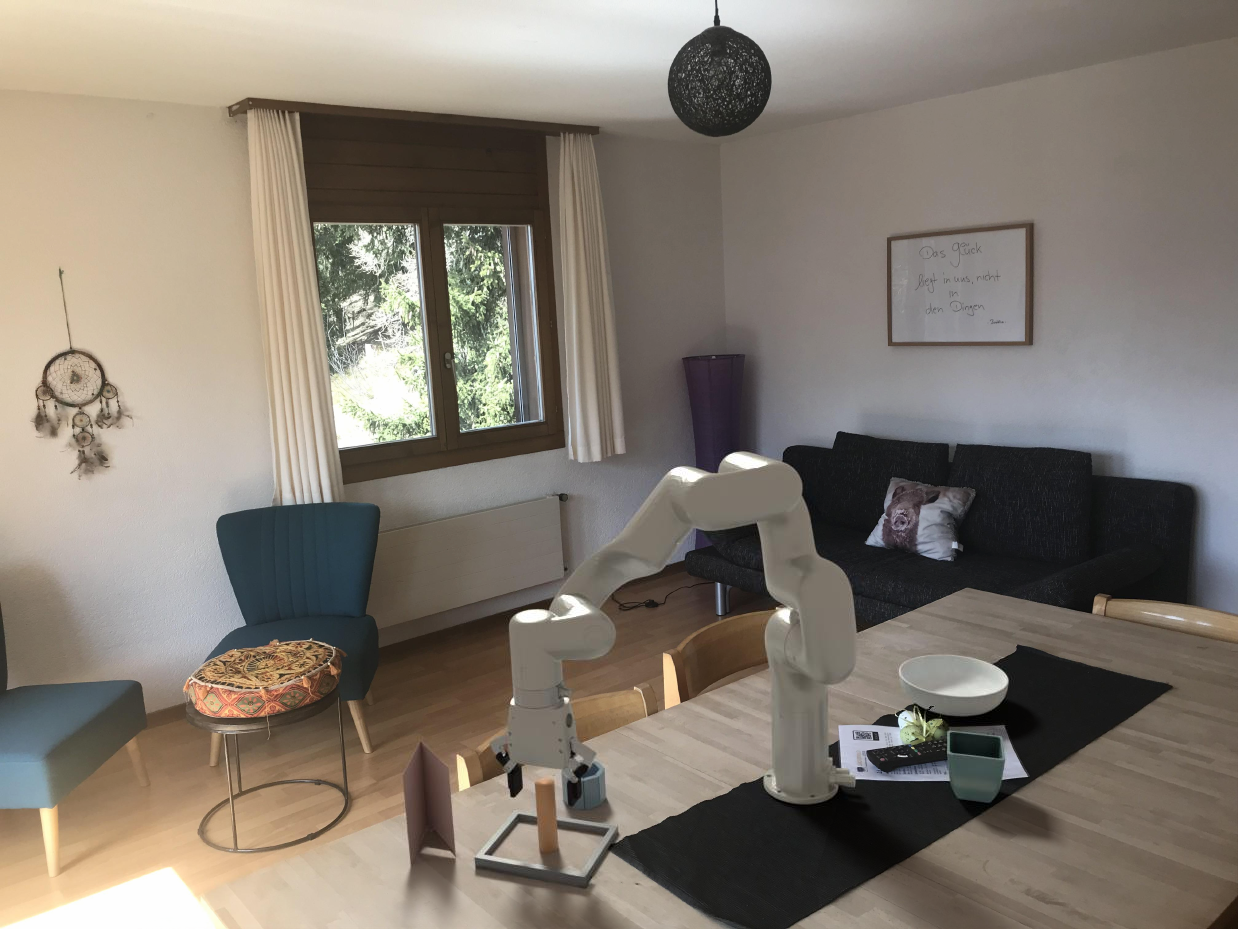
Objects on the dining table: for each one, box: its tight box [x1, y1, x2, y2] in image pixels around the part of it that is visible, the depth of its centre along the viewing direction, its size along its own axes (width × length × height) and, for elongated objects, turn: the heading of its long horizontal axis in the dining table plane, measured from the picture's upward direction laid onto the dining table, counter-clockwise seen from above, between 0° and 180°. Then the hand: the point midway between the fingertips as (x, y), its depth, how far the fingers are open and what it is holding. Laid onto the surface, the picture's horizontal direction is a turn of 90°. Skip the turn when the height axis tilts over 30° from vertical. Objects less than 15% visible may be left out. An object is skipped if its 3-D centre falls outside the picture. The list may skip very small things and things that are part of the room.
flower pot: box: [946, 730, 1006, 804], centre depth 157 cm, size 9×9×9 cm
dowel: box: [534, 777, 559, 854], centre depth 146 cm, size 3×3×11 cm
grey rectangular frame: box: [474, 809, 619, 889], centre depth 146 cm, size 18×14×2 cm
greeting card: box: [401, 739, 457, 866], centre depth 149 cm, size 11×7×15 cm, turn 178°
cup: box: [561, 759, 607, 811], centre depth 160 cm, size 7×7×6 cm
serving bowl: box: [898, 654, 1010, 717], centre depth 191 cm, size 21×21×7 cm
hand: (545, 797), depth 145 cm, fingers open, 9 cm apart
